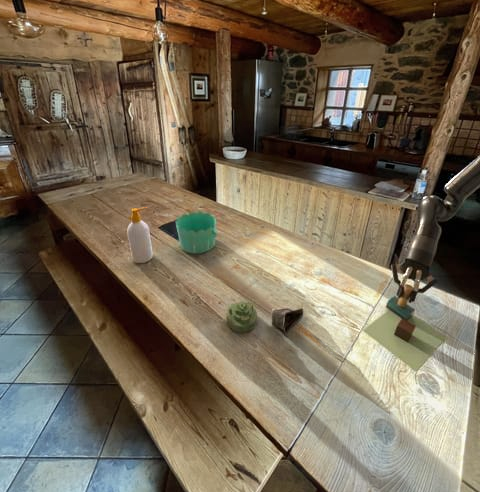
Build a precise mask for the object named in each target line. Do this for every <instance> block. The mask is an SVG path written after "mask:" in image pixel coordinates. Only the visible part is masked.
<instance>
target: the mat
mask: <svg viewBox="0 0 480 492" xmlns="http://www.w3.org/2000/svg"><path fill="white" fill-rule="evenodd" d="M400 320H401V318H400V317H399V316H398V315H396V314H395V313H393V312H392V311H391V310H389V309H387V310H386V311H385V312H384V313H382V314H381V315H380V316H379V317H377V318H376V319H374V320H373V321H371V323H370V324H369V325H367V326H366V327H365V328H363V329H362V331H363V332H364V334H367V335H368V336H369V337H370V338H372V339H373V341H376V342H377V343H378V344H379V345H381V346H382V347H383V348H384V349H386V350H387V351H388V352H390V353H391V354H392V355H393V356H394V357H396V358H397V359H398V360H400V361H401V362H402V363H404V365H406V366H408V367H409V368H410V369H411V370H413V371H414V372H415V373H416V372H417V371H418V370H419V369H420V368H421V367H422V365H424V364H425V362H426V361H427V360H428V359H429V358H430V357H431V356H432V355H433V353H435V351H436V350H437V349H438V348H439V347H440V346H441V344H443V342H445V340H446V339H447V338H448V336H447V335H446V334H445V333H443V332H441V331H439V330H438V329H436V328H435V327H434V326H432V325H430V324H429V323H427V322H426V321H424V320H422V319H421V318H419V317H417V316H416V315H414V314H413V315H412V317H410V318H409V319H408V320H407V321H408V322H410V323H411V324H413V325H415V326H416V327H415V329H414V332H413V334H412V336H411V338H410V340H409V342H406V341H404V340H402V339H401V338H399V337H397V336H396V335H394V333H395V330H396V327H397V325H398V323H399V322H400Z"/></svg>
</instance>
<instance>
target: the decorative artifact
mask: <svg viewBox="0 0 480 492" xmlns="http://www.w3.org/2000/svg"><path fill="white" fill-rule="evenodd" d="M225 319H226V324H227V326H228V327H229V329H231V330H233V331H234V332H237V333H246V332H249V331H252V330H253V329H254V328H255V327H256V325H257V321H258V313H257V309H256V307H255V306H254V304H252V303H251V302H250V301H246V302H245V301H238V302H235V303H231V304H230V306H229V307H228V308H227V310H226V318H225Z"/></svg>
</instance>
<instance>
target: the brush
mask: <svg viewBox="0 0 480 492" xmlns="http://www.w3.org/2000/svg"><path fill="white" fill-rule="evenodd" d="M413 287H414V286H413V285H411V284H408V283H405V285H404V290H403V293H402V295H401V298H400V299H399V298H398V296H397V295H393V296H392V297H391V298H390V299H388V300H387V302H386V305H385V308H386V309H387V310H391V311H392V312H393V313H395V314H396V315H398V316H399V317H400V318H402V319H404V320H406V321H407V320H408V319H409V318H410V317H412V315H414V314H415V311H416V309H415V308H414V307H412V306H411V305H409V304H408V303H409V302H408V301H409V298H410V295H411V293H412V291H413Z"/></svg>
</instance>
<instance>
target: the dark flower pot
mask: <svg viewBox="0 0 480 492" xmlns="http://www.w3.org/2000/svg"><path fill="white" fill-rule="evenodd" d="M304 313H305V311H304V308H303V307H302V308H299V309H295V310H294V309H291V308H287V307H284V308H282V307H278V308H272V310H271V315H270V317H271V318H270V319H271V321H270V322H271V325H272V326H274V327H276V328H278V329H281V330H283V331H284V334H285V335H286V336H289V335H290V334H291V332H293V330H294V328H296V326H297V325H298V323H299V322H300V321H301V320H302V319H303V317H304Z"/></svg>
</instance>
